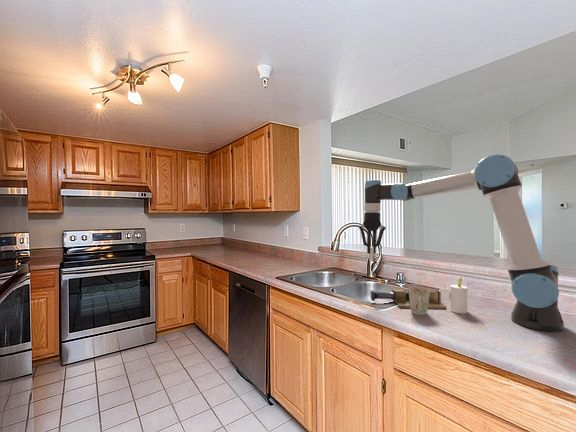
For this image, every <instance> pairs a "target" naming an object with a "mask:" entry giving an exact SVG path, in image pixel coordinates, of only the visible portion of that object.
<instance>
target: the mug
mask: <svg viewBox="0 0 576 432" xmlns="http://www.w3.org/2000/svg"><path fill="white" fill-rule="evenodd" d="M429 289H430V288H427V287H421V286H410V287H408V289H407V292H408V291H409V299H410V306H411V308H410V312H411V314H413V315H416V316H426V315H427V313H428V310H429V309H428V303H429V296H430V290H429Z"/></svg>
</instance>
